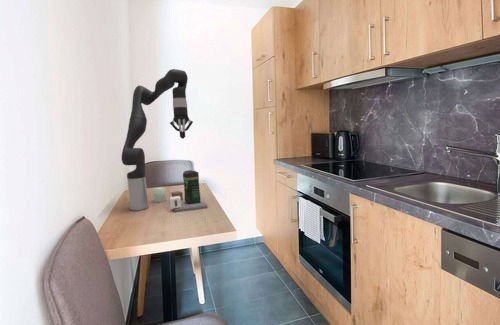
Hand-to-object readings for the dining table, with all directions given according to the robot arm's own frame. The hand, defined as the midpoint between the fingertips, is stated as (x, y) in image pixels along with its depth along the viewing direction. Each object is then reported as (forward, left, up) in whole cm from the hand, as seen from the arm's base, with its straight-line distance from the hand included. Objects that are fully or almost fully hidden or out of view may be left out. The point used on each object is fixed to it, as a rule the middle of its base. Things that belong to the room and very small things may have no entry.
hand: (182, 138), depth 159 cm
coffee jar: (-1, +3, -37) cm, 37 cm away
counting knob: (+12, -7, -35) cm, 38 cm away
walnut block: (-11, -5, -37) cm, 39 cm away
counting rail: (+12, 0, -37) cm, 39 cm away
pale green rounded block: (-14, -15, -37) cm, 42 cm away
